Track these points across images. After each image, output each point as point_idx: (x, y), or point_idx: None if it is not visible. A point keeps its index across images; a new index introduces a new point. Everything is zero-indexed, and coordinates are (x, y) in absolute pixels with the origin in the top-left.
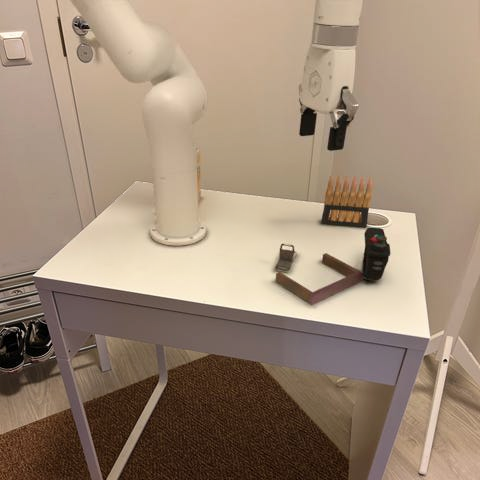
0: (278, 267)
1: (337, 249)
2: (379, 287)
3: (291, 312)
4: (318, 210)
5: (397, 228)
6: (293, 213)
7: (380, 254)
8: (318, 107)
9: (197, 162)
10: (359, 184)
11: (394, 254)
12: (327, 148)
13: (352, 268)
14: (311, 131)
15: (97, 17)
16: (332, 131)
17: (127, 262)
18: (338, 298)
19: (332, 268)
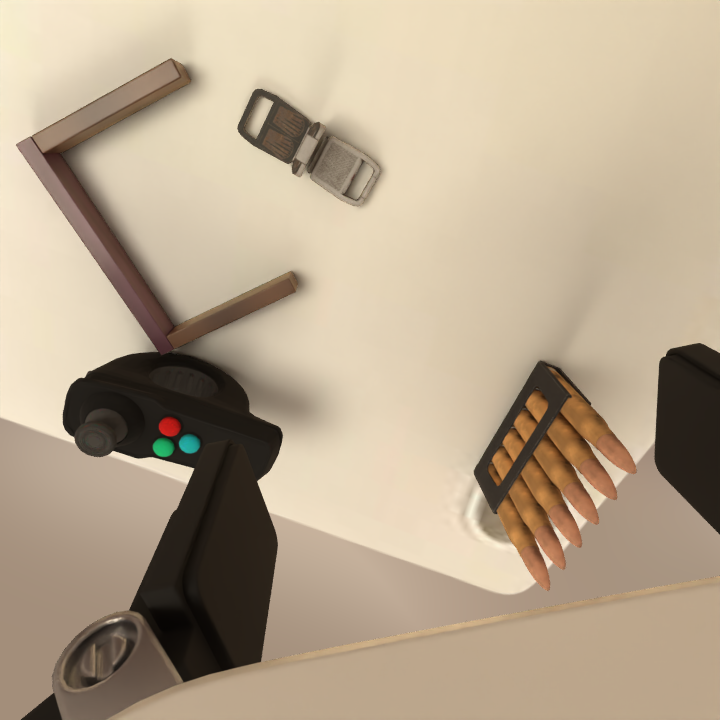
0: (272, 106)
1: (365, 348)
2: None
3: None
4: (639, 387)
5: (447, 543)
6: (653, 299)
7: (64, 406)
8: (335, 715)
9: None
10: (555, 538)
11: (308, 480)
12: (222, 441)
13: (188, 334)
14: (675, 458)
15: None
16: (160, 569)
17: None
18: (79, 244)
19: (250, 290)
